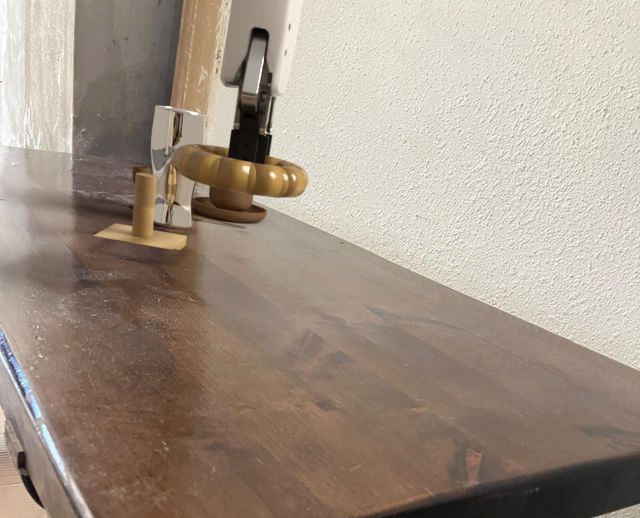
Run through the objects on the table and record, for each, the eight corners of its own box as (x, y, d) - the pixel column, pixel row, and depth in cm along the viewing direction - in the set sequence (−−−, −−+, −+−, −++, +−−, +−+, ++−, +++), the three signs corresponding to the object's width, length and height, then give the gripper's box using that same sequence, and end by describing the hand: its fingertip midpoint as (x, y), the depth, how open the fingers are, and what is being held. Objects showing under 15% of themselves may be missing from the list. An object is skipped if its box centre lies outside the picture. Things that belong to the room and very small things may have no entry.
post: (92, 245, 85) (95, 171, 82) (114, 232, 93) (118, 164, 90) (170, 259, 85) (177, 186, 82) (185, 245, 94) (192, 178, 90)
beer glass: (135, 217, 104) (143, 102, 98) (178, 218, 109) (188, 109, 103) (162, 229, 100) (172, 110, 94) (205, 230, 105) (217, 116, 99)
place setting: (260, 231, 111) (265, 191, 108) (126, 207, 110) (128, 166, 107) (270, 214, 127) (275, 179, 124) (153, 193, 126) (156, 157, 123)
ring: (158, 178, 57) (162, 145, 56) (187, 166, 68) (190, 138, 67) (301, 207, 58) (306, 175, 57) (308, 190, 68) (312, 163, 67)
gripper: (245, -50, 67) (218, 163, 74) (217, -93, 52) (186, 180, 59) (327, -33, 67) (292, 178, 74) (323, -70, 52) (279, 198, 59)
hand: (246, 177), depth 67 cm, fingers closed on ring, 2 cm apart
